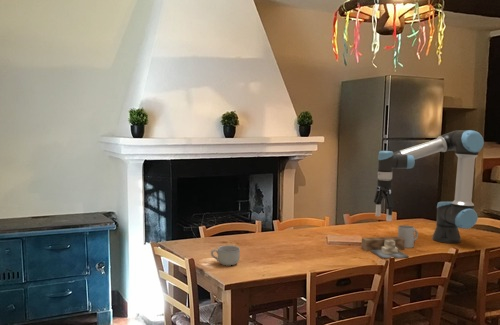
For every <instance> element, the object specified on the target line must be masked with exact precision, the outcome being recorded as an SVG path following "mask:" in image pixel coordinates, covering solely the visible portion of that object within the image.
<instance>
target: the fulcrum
mask: <svg viewBox="0 0 500 325" xmlns="http://www.w3.org/2000/svg"><path fill="white" fill-rule="evenodd" d="M370 252H371V253H372V254H374V255H376V256H377V257H378V258H380V259H382V258H391V257H394V258H395V259H408V258H407V257H410V256H409V255H407V254H406V253H404V252H402V251H401V250H398V248H397V247H395V241H393V240H384V247H382V250H371V251H370ZM395 259H394V260H395Z"/></svg>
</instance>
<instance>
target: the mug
mask: <svg viewBox="0 0 500 325" xmlns="http://www.w3.org/2000/svg"><path fill="white" fill-rule="evenodd" d="M397 237H401V238H403V239H405V243H404V249H412V248H414V246H415V245H414V244H415V241H417V240H418V237H419V233H418V230H417V229H416V228H415V227H414V226H412V225H406V224H405V225H404V224H402V225H398V229H397Z"/></svg>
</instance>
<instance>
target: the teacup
mask: <svg viewBox="0 0 500 325" xmlns="http://www.w3.org/2000/svg"><path fill="white" fill-rule="evenodd" d="M240 250H241V248H240V247H239V246H237V245H233V244H228V245H226V244H225V245H221V246H218V248H217V249H216V248H214V249H212V250H211V251H210V256H211V257H212V258H213V259H214V260H216V261H217V262H219V263H220V264H221V265H222V266H225V265H226V266H225V267H232V266H231V265H233V266H235V265H237V263H238V262H239V261H240V256H241V255H240ZM214 252H216V253H217V256H216V255H214Z"/></svg>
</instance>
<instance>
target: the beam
mask: <svg viewBox="0 0 500 325" xmlns="http://www.w3.org/2000/svg"><path fill="white" fill-rule="evenodd" d="M384 240H393V241H395V247H397V248H398V251H404V250H405V248H404V243H405V239H403V238H401V237H398V236H384V237H383V236H379V237H378V236H377V237H362V238H361V247H360V248H361V249H362V250H363V251H364V252H371V250H382V247H384Z"/></svg>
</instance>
